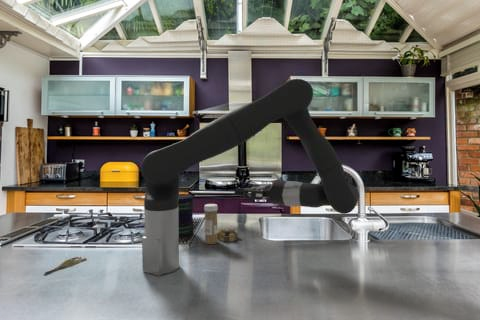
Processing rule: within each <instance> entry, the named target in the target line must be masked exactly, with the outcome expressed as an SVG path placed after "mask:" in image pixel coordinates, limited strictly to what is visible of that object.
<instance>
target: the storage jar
mask: <svg viewBox="0 0 480 320" xmlns="http://www.w3.org/2000/svg"><path fill="white" fill-rule="evenodd" d="M193 210H194V195H193V194H189V193H179V199H178V216H179V217H178V220H179V240H183V239H189V238H192V237H193V236H194V227H195V225H194V219H193V215H194V214H193Z"/></svg>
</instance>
